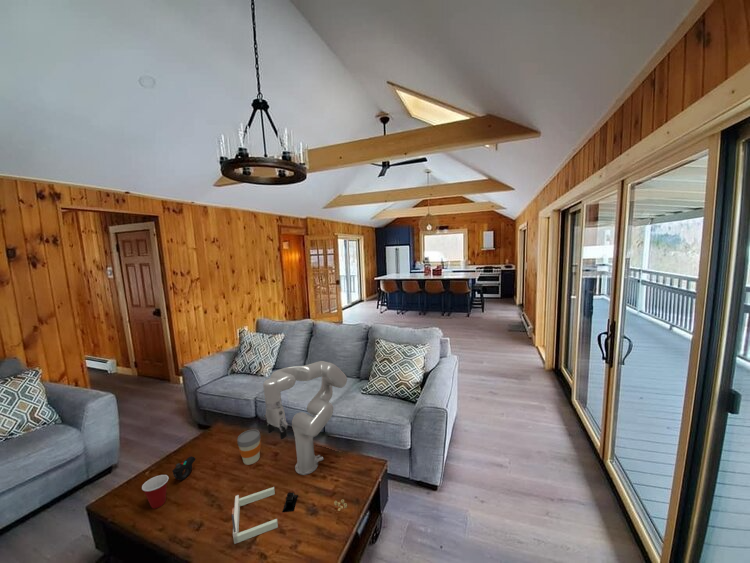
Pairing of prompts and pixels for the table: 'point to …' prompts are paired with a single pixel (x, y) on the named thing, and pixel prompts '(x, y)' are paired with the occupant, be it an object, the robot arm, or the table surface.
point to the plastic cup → (156, 490)
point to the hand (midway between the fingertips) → (277, 434)
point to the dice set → (340, 505)
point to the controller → (183, 468)
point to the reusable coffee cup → (249, 446)
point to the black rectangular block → (290, 502)
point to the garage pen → (255, 530)
